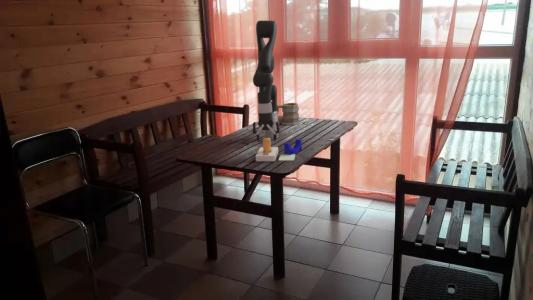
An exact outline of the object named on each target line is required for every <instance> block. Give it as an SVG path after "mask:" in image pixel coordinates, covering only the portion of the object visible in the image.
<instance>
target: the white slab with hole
mask: <svg viewBox="0 0 533 300" xmlns="http://www.w3.org/2000/svg"><path fill="white" fill-rule="evenodd" d="M278 154H279V147H278V146H273V147H272V146H271V153H263V146H261V147H259V150H258V151H257V152H256V154H255V162H275V161H276V160H277V157H278Z"/></svg>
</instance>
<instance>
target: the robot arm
mask: <svg viewBox="0 0 533 300" xmlns="http://www.w3.org/2000/svg"><path fill="white" fill-rule="evenodd" d="M255 34H256V42H257V43H256V44H257V67H256V69H255V72H254V75H253V77H252V83H253V86H254V87H257V88H258V92H257V114H258V115H257V116H258V117H257V119H258V122H256V121H254V122H253V123H252V134H254V135H256V140H257V141H258V142H260V141H261V137H260V136H261V134H260V132H262V131H263V139H264V138H270V141H273V142H276V140H278V139H279V138H280V135H279V134H280V131H281V129H280V122H278V118H279V116H278V114H279V112H277V105H278V88H277V86H276V84H274V75H273V74H272V73H273V72H274V70H275V57H274V55H273V51H274V47H275V43H276V38H277V22H276V21H275V20H258V21H257V22H256V25H255ZM264 39H268V41H267V43H265V40H264ZM257 126H258V127H259V128H258V130H257Z"/></svg>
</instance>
